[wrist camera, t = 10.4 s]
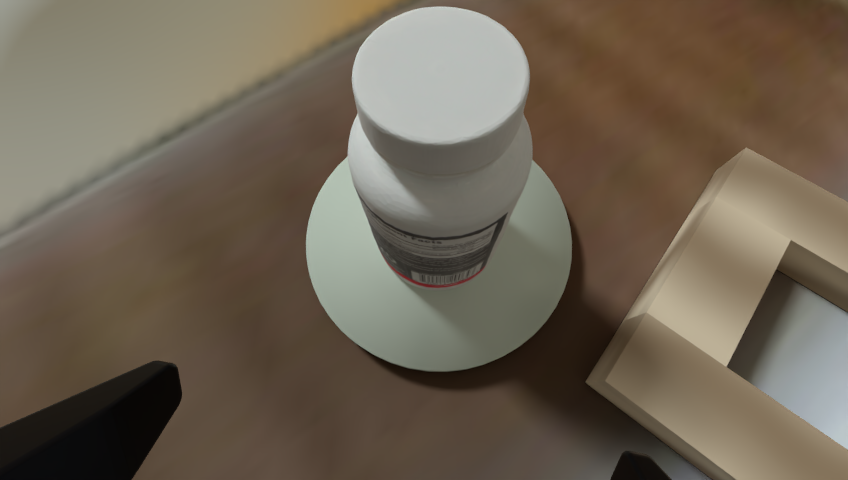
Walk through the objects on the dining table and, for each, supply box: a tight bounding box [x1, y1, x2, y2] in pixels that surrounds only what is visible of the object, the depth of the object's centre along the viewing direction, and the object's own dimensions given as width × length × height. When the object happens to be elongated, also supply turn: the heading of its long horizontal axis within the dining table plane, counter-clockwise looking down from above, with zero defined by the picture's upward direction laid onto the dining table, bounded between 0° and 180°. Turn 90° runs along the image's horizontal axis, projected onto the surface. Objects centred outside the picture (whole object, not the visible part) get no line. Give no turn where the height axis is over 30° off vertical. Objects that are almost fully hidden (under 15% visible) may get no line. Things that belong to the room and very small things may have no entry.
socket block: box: [585, 148, 848, 480], centre depth 16 cm, size 13×13×2 cm
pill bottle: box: [348, 7, 532, 291], centre depth 13 cm, size 5×5×10 cm
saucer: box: [306, 157, 572, 372], centre depth 18 cm, size 12×12×1 cm
